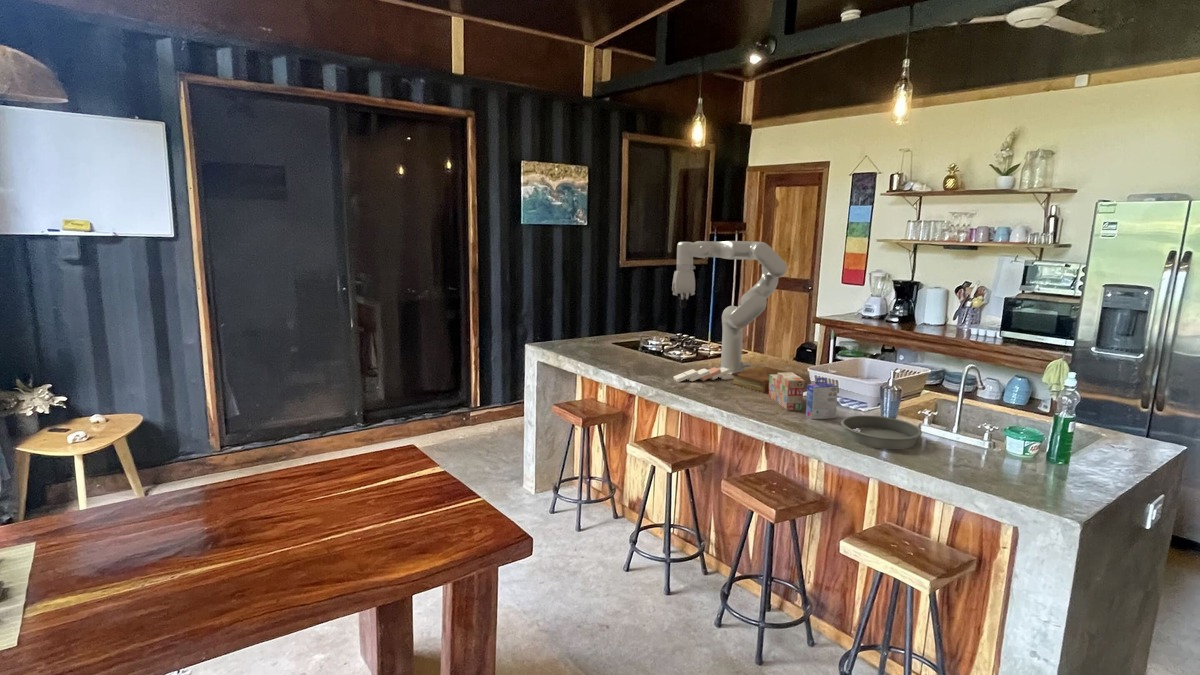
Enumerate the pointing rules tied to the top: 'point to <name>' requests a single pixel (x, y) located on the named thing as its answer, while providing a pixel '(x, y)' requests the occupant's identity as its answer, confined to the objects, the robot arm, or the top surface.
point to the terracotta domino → (711, 373)
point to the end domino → (727, 376)
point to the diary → (755, 378)
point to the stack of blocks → (787, 390)
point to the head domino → (685, 375)
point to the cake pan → (881, 432)
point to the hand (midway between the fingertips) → (683, 307)
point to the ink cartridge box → (821, 400)
